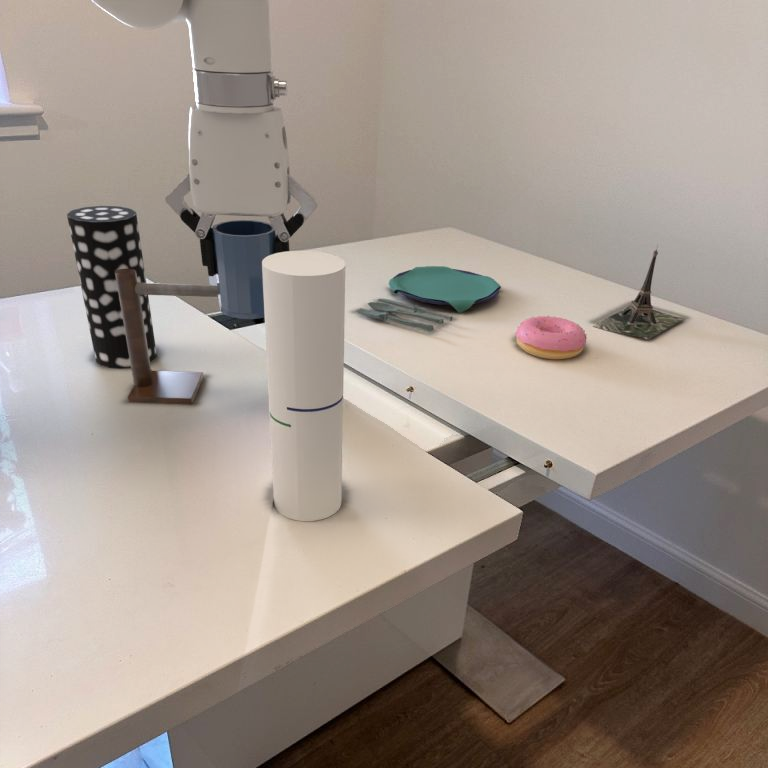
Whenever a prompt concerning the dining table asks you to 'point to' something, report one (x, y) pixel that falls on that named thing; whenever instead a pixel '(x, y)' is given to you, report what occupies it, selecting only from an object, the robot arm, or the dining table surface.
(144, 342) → the mug stand
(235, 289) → the mug
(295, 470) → the cylindrical container
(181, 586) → the dining table surface
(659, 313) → the eiffel tower figurine
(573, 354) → the doughnut
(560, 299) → the dining table surface
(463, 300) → the cutlery set
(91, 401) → the dining table surface
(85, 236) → the white-spotted black cylinder
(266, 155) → the robot arm
